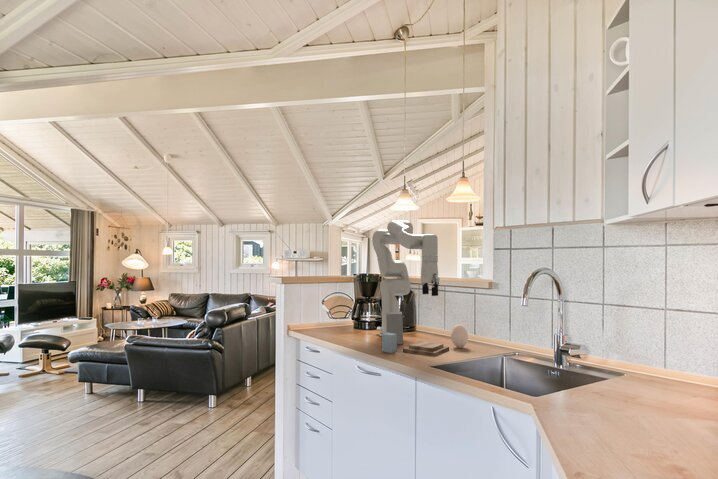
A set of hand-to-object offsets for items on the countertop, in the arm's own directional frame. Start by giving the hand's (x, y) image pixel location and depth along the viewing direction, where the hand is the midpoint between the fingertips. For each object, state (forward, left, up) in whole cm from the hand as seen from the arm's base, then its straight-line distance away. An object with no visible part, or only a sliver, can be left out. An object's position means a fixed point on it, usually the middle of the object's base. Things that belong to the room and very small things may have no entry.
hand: (430, 294), depth 214 cm
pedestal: (+1, -7, -26) cm, 27 cm away
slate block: (-13, -17, -26) cm, 33 cm away
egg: (+11, +9, -26) cm, 29 cm away
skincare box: (-20, 0, -26) cm, 32 cm away
